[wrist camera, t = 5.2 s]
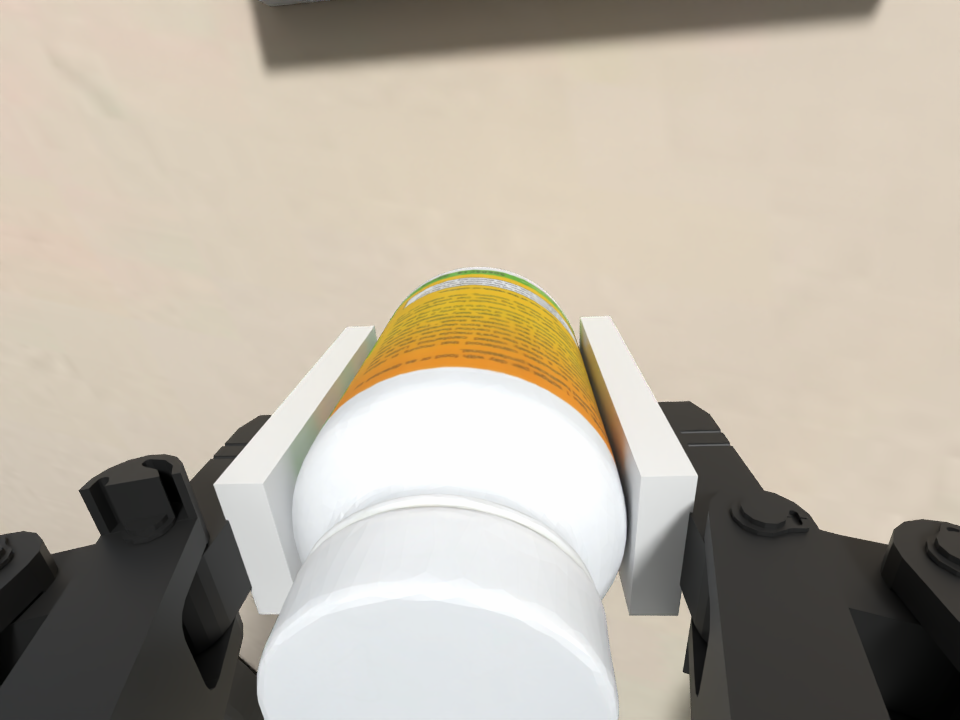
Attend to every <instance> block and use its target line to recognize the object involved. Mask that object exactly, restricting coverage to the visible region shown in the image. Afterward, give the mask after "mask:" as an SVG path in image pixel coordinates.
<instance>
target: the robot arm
mask: <svg viewBox="0 0 960 720" xmlns="http://www.w3.org/2000/svg"><path fill="white" fill-rule="evenodd" d="M376 342H377V338H376V332H375V326H357V327H346V328H345V330H344V331H343V332H342V333H341V334H340V336H339V337H338V338H337V339H336V340H335V341H334V343H333V344H332V345H331V346H330V347H329V349H328V350H327V351H326V352H325V353H324V354H323V356H322V357H321V358H320V359H319V360H318V361H317V363H316V364H315V365H314V366H313V367H312V369H311V370H310V371H309V372H308V373H307V374H306V376H305V377H304V378H303V379H302V380H301V382H300V383H299V384H298V385H297V386H296V387H295V389H294V390H293V391H292V392H291V393H290V395H289V396H288V397H287V398H286V399H285V400H284V402H283V403H282V404H281V405H280V406H279V407H278V409H277V410H276V411H275V412H274V413H273V415H260V416H258V417H256V418H255V419H253V420H252V421H250V422H248V423H247V424H245V425H244V426H242V427H240V428H239V429H238V430H237V431H236V432H235V433H234V434H233V435H232V436H231V438H230V439H229V440H228V441H227V442H226V443H225V446H222V447H221V448H220V449H219V451H218V452H217V453H216V454H215V455H214V458H213V459H210V460H209V461H208V462H207V464H206V465H205V466H204V467H203V468H202V469H201V470H200V471H199V472H198V473H197V474H196V475H195V477H194V478H193V479H192V480H191V481H190V482H189V479H188V476H187V474H186V471H185V469H184V466H183V463H182V462H181V461H180V460H179V459H178V458H177V457H175V456H170V455H166V454H161V455H148V456H144V457H140V458H136V459H132V460H128V461H126V462H123V463H121V464H119V465H116V466H114V467H111V468H109V469H107V470H105V471H104V472H102V473H100V474H99V475H97V476H95V477H94V478H92V479H91V480H90V481H89V482H87V483H86V484H85V485H84V486H83V487H82V488H81V489H80V490H79V492H80V494H81V496H82V498H83V500H84V502H85V504H86V506H87V508H88V510H89V512H90V514H91V516H92V518H93V520H94V522H95V524H96V526H97V528H98V530H99V532H100V534H101V536H100V538H99V539H98V541H97V542H96V544H94V545H89V546H85V547H81V548H76V549H72V550H68V551H63V552H59V553H55V554H50V553H49V551H48V549H47V547H46V546H45V544H44V542H43V540H42V539H41V538H40V537H39V535H38V534H37V533H32V532H25V531H22V532H16V533H9V534H4V535H0V720H264V717H263V714H262V711H261V708H260V706H259V703H258V697H257V676H256V675H255V674H254V673H253V672H252V671H251V670H250V669H249V668H248V667H247V666H246V665H245V664H244V663H243V662H241V661H240V660H239V659H238V656H239V652H240V648H241V644H242V639H243V623H242V620H241V617H240V615H239V612H238V611H239V609H240V608H241V606H242V604H243V602H244V601H245V599H246V597H247V595H248V594H249V592H250V590H251V593H252V595H253V598H254V601H255V604H256V607H257V610H258V612H259V614H279V613H280V611H281V609H282V607H283V604H284V602H285V600H286V598H287V596H288V593H289V591H290V589H291V587H292V585H293V582H294V580H295V578H296V576H297V574H298V572H299V570H300V569H301V567H302V565H303V564H302V562H301V560H300V557H299V554H298V551H297V547H296V543H295V539H294V533H293V522H292V504H293V494H294V489H295V484H296V481H297V477H298V474H299V472H300V469H301V466H302V463H303V461H304V459H305V457H306V456H307V454H308V452H309V450H310V448H311V446H312V444H313V442H314V441H315V439H316V437H317V435H318V434H319V432H320V430H321V428H322V427H323V425H324V424H325V422H326V421H327V419H328V418H329V416H330V414H331V413H332V411H333V410H334V408H335V406H336V405H337V403H338V402H339V400H340V399H341V397H342V396H343V394H344V393H345V391H346V389H347V388H348V386H349V385H350V383H351V382H352V380H353V379H354V377H355V376H356V374H357V372H358V371H359V369H360V367H361V366H362V364H363V362H364V361H365V359H366V358H367V356H368V355H369V353H370V352H371V350H372V349H373V347H374V345H375V344H376ZM579 349H580V353H581V356H582V359H583V363H584V366H585V369H586V372H587V375H588V378H589V382H590V385H591V388H592V391H593V394H594V397H595V400H596V403H597V406H598V410H599V413H600V416H601V419H602V422H603V425H604V428H605V431H606V434H607V437H608V440H609V443H610V446H611V449H612V453H613V456H614V459H615V462H616V466H617V470H618V474H619V477H620V481H621V485H622V489H623V493H624V498H625V504H626V510H627V537H626V544H625V549H624V554H623V558H622V561H621V565H620V568H619V570H618V571H619V575H620V579H621V583H622V587H623V591H624V595H625V599H626V603H627V607H628V611H629V615H660V616H678V613H679V606H680V599H681V592H683V595H684V598H685V600H686V603H687V606H688V608H689V611H690V614H691V616H692V617H691V624H690V630H689V636H688V643H687V649H686V655H685V661H684V668H683V672H684V673H687V674H690V698H691V720H960V526H958V525H954V524H951V523H947V522H940V521H932V520H924V519H921V520H914V521H906V522H903V523H902V524H901V525H899V526H898V527H897V528H895V529H894V531H893V533H892V536H891V539H890V542H889V544H888V545H887V544H882V543H877V542H872V541H867V540H862V539H857V538H852V537H847V536H842V535H838V534H834V533H830V532H827V531H823V530H819V528H818V526H817V525H816V523H815V522H814V521H813V519H812V518H811V516H810V515H809V514H808V513H807V512H806V511H804V510H803V509H802V508H801V507H799V506H798V505H797V504H795V503H794V502H792V501H790V500H788V499H786V498H784V497H782V496H779V495H777V494H775V493H772V492H768V491H764V490H763V488H762V487H761V486H760V484H759V483H758V481H757V480H756V479H755V477H754V476H753V474H752V473H751V472H750V470H749V469H748V467H747V466H746V465H745V463H744V462H743V460H742V459H741V458H740V456H739V455H738V453H737V452H736V451H735V449H734V448H733V446H730V442H729V441H728V439H727V438H726V437H725V435H724V434H723V433H721V431H720V428H719V427H718V425H717V424H716V423H715V421H714V420H713V418H712V417H711V416H710V414H708V413H707V412H705V411H704V410H702V409H701V408H699V407H698V406H696V405H695V404H693V403H691V402H690V401H684V402H657V400H656V399H655V397H654V395H653V393H652V391H651V390H650V388H649V386H648V384H647V382H646V380H645V379H644V377H643V375H642V373H641V371H640V370H639V368H638V366H637V364H636V362H635V360H634V359H633V357H632V355H631V353H630V351H629V350H628V348H627V346H626V344H625V342H624V341H623V339H622V337H621V335H620V333H619V331H618V330H617V328H616V326H615V324H614V322H613V321H612V319H611V317H610V316H595V317H580V345H579Z"/></svg>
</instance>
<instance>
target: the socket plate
mask: <svg viewBox="0 0 960 720" xmlns="http://www.w3.org/2000/svg"><path fill="white" fill-rule="evenodd" d="M258 1H260V2H263V3H265V4H267V5H269V6H278V5H288V4H298V3H308V2H318V1H328V0H258Z"/></svg>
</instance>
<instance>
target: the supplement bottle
mask: <svg viewBox="0 0 960 720" xmlns="http://www.w3.org/2000/svg"><path fill="white" fill-rule="evenodd" d="M292 522H293V533H294V539H295V543H296V547H297V551H298V554H299V557H300V560H301V562H302V564H303V565H302V567H301V569H300V570H299V572H298V574H297V576H296V578H295V580H294V582H293V585H292V587H291V589H290V591H289V593H288V596H287V598H286V600H285V602H284V604H283V607H282V609H281V611H280V613H279V616H278V618H277V620H276V623H275V625H274V627H273V629H272V632H271V634H270V636H269V638H268V640H267V643H266V645H265V647H264V650H263V653H262V656H261V659H260V662H259V667H258V671H257V697H258V703H259V706H260V708H261V711H262V714H263V717H264V720H618V717H619V701H618V692H617V686H616V680H615V675H614V669H613V664H612V658H611V652H610V645H609V638H608V630H607V621H606V615H605V611H604V607H603V604H602V601H601V600H602V599H603V598H604V596H605V595H606V593H607V592H608V590H609V588H610V587H611V585H612V584H613V582H614V579H615V577H616V575H617V572H618V570H619V568H620V565H621V561H622V558H623V554H624V549H625V544H626V537H627V510H626V504H625V498H624V493H623V489H622V485H621V481H620V477H619V474H618V470H617V466H616V462H615V459H614V456H613V453H612V449H611V446H610V443H609V440H608V437H607V434H606V431H605V428H604V425H603V422H602V419H601V416H600V413H599V410H598V406H597V403H596V400H595V397H594V394H593V391H592V388H591V385H590V382H589V378H588V375H587V372H586V369H585V366H584V363H583V359H582V356H581V353H580V349H579V346H578V343H577V340H576V338H575V335H574V332H573V330H572V328H571V325H570V323H569V321H568V319H567V317H566V315H565V314H564V312H563V311H562V309H561V308H560V306H559V305H558V304H557V303H556V301H555V300H554V299H553V298H552V297H551V296H550V295H549V294H548V293H547V292H546V291H544V290H543V289H542V288H541V287H539V286H538V285H537V284H535V283H534V282H532V281H530V280H528V279H527V278H525V277H523V276H520V275H518V274H516V273H513V272H509V271H506V270H502V269H497V268H489V267H468V268H460V269H456V270H452V271H449V272H446V273H443V274H440V275H438V276H436V277H433V278H432V279H430V280H428V281H427V282H425V283H423V284H422V285H420V286H419V287H418V288H416V289H415V290H414V291H413V292H412V293H411V294H410V295H409V296H408V297H407V298H406V299H405V300H404V301H403V302H402V304H401V305H400V306H399V308H398V309H397V310H396V312H395V313H394V315H393V316H392V318H391V319H390V321H389V322H388V324H387V325H386V327H385V329H384V331H383V333H382V334H381V336H380V337H379V339H378V340H377V342H376V344H375V345H374V347H373V349H372V350H371V352H370V353H369V355H368V356H367V358H366V359H365V361H364V362H363V364H362V366H361V367H360V369H359V371H358V372H357V374H356V376H355V377H354V379H353V380H352V382H351V383H350V385H349V386H348V388H347V389H346V391H345V393H344V394H343V396H342V397H341V399H340V400H339V402H338V403H337V405H336V406H335V408H334V410H333V411H332V413H331V414H330V416H329V418H328V419H327V421H326V422H325V424H324V425H323V427H322V428H321V430H320V432H319V434H318V435H317V437H316V439H315V441H314V442H313V444H312V446H311V448H310V450H309V452H308V454H307V456H306V457H305V459H304V461H303V463H302V466H301V469H300V472H299V474H298V477H297V481H296V484H295V489H294V494H293V504H292Z"/></svg>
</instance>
